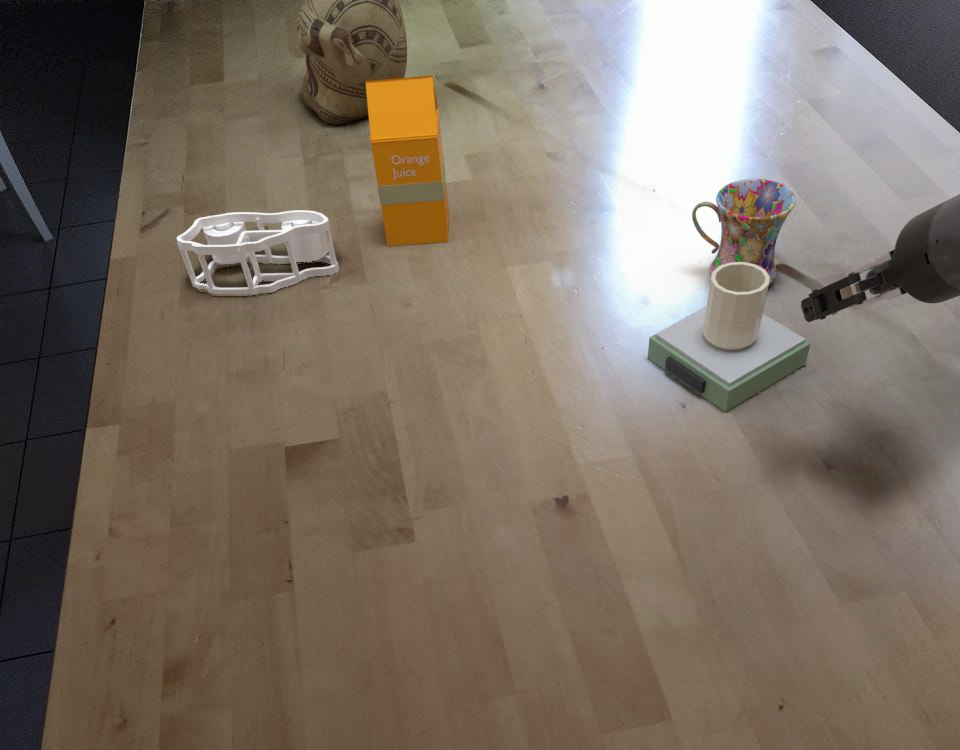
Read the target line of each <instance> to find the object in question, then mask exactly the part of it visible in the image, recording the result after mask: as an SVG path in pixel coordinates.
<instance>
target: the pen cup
mask: <svg viewBox="0 0 960 750" xmlns="http://www.w3.org/2000/svg"><path fill="white" fill-rule="evenodd" d="M769 280H770V276H769V275H768V273H767V272H766V270H765V269H763V268H761V267H759V266H758V265H755V264H751V263H747V262H730V263H727V264H724V265H720V266H719V267H717V268H716V269H715V270H714V271H713V272H712V275H711V277H710V281H709V287H708V294H707V299H706V300H707V301H706V306H707V307H706V306H705V307H706V314H705V320H704V327H703V334H704V336H705V338H706V340H707V341H709V342H710V343H711V344H712V345H714V346H715V347H717V348H720V349H724V350H738V349H742V348H744V347H746V346H748V345H750V344H752V343H753V342H754V341H755V340H756V339H757V338H758V334H759V329H760V324H761V320H762V315H763V314H764V310H765V305H766V300H767V295H768V290H769V286H770V285H769Z"/></svg>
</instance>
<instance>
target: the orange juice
mask: <svg viewBox="0 0 960 750" xmlns="http://www.w3.org/2000/svg"><path fill="white" fill-rule="evenodd" d="M365 82H366V92H367V103H368V114H369V116H368V124H369V134H370V138H369V142H370V147H371V152H372V154H371V155H372V160H373V165H374V171H375V172H374V173H375V178H376V183H377V184H376V185H377V192H378V198H379V203H380V208H381V214H382V220H383V225H384V226H383V227H384V233H385V238H386V244H387V245H386V246H387V247H395V246H408V245H421V244H435V243H448V242H449V237H450V236H449V235H450V233H449V232H450V207H449V199H448V190H447V179H446V167H445V157H444V150H443V139H442V132H441V130H442V129H441V121H440V111H439V110H440V109H439V106H438V105H439V104H438V99H437V94H436V93H437V92H436V88H435V87H436V86H435V81H434V75H432V74H431V75H423V76H422V75H421V76H410V77H404V78H396V79H384V80H372V81H365Z"/></svg>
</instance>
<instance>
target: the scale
mask: <svg viewBox="0 0 960 750" xmlns="http://www.w3.org/2000/svg"><path fill="white" fill-rule="evenodd" d="M706 307H707V305H706V306H704V307H703V308H701V309H699V310H697V311H695V312H693V313H692V314H689V315H688V316H686V317H684V318H683V319H681V320H679V321H677V322H675V323H672V324H671V325H670V326H668V327H666V328H664V329H662V330H660V331H659V332H656V333H655V334H653V335H651V336H650V337H649V339H648V347H647V348H648V350H647V360H649V361H651V362H652V363H654V364H655V365H656V366H657V367H659V368H661V369H662V370H663V371H665V372H666V373H668V374H669V375H671V376H672V377H674V378H675V379H677V381H679V382H681V383H683V384H684V385H685V386H686V387H688V388H689V389H691V390H692V391H694V392H695V393H696V394H698V395H700V396H701V397H702V398H704V399H705V400H706V401H708V402H710V403H711V404H712V405H714V406H715V407H717V408H719V409H720V410H721V411H723V412H724V413H726V412H728V411H729V410H731V409H733V408H734V407H737V406H738V405H740V404H742V403H743V402H745V401H746V400H748V399H750V398H751V397H753V396H755V395H756V394H758V393H760V392H761V391H763V390H765V389H766V388H768V387H770V386H771V385H773V384H775V383H776V382H779V381H780V380H782V379H784V378H786V377H787V376H788V375H791V374H792V373H793V372H795V371H797V370H798V369H800V368H802V367H803V366H805V365H806V363H807V360H808V354H809V351H810V348H811V344H812V343H811V342H810V341H808V340H807V339H806V338H805V337H803V336H801V335H799V334H798V333H796V332H794V331H793V330H791V329H790V328H788V327H786V326H784V325H782V324H781V323H779V322H778V321H776V320H774V319H773V318H771V317H769V316H767V315H766V314H764V313H763V315H762V320H761V324H760V329H759V334H758V338H757V339H756V340H755V341H754V342H753V343H752V344H750V345H748V346H746V347H744V348H742V349H738V350H724V349H720V348H717V347H715V346H714V345H712V344H711V343H710V342H709V341H707V340H706V338H705V336H704V334H703V327H704V320H705V314H706Z"/></svg>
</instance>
